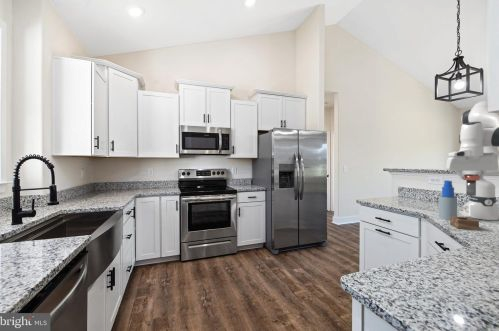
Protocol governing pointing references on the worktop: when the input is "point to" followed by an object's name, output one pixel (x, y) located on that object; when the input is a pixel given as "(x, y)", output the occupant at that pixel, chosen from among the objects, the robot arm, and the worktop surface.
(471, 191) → the copper cross-head bolt
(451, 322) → the worktop surface
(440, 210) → the spray bottle
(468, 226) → the block
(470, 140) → the robot arm
